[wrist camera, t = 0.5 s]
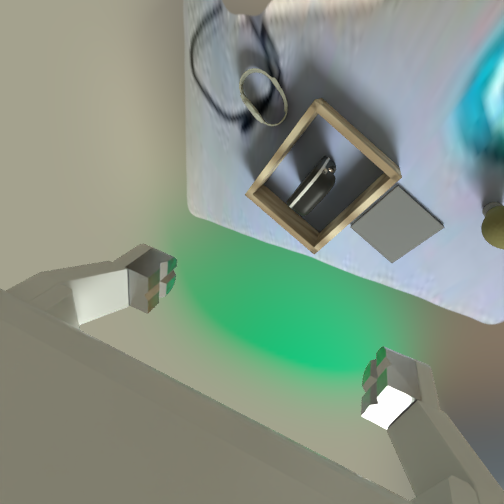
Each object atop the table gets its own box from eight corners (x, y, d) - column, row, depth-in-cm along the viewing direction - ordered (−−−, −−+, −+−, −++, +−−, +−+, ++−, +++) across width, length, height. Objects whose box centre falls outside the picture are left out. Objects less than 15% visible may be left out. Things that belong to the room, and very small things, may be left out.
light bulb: (515, 221, 42) (549, 254, 34) (469, 228, 44) (489, 260, 36) (516, 185, 40) (551, 211, 32) (467, 195, 42) (488, 220, 34)
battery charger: (315, 198, 51) (302, 223, 42) (299, 184, 51) (282, 207, 41) (343, 168, 47) (335, 188, 37) (326, 153, 47) (313, 169, 37)
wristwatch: (237, 88, 47) (224, 88, 43) (264, 56, 43) (253, 53, 39) (271, 134, 48) (261, 138, 44) (300, 107, 45) (292, 109, 41)
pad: (397, 185, 45) (398, 186, 44) (443, 226, 45) (444, 227, 45) (350, 225, 51) (350, 227, 50) (391, 261, 51) (391, 263, 51)
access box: (321, 97, 43) (314, 99, 38) (399, 167, 44) (402, 177, 39) (256, 184, 54) (244, 194, 49) (319, 239, 54) (314, 254, 50)
